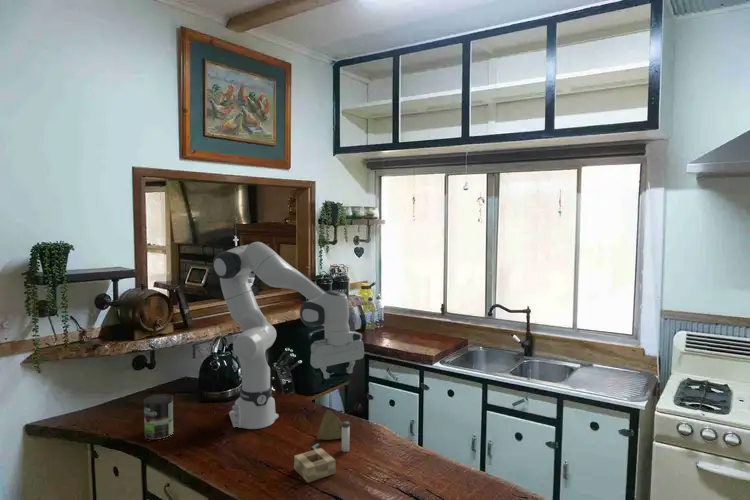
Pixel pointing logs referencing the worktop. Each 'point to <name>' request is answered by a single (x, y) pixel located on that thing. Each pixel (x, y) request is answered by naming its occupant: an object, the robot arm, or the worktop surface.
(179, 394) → the worktop surface
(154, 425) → the coffee can
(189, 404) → the worktop surface
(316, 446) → the hex key
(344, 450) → the long grey cylinder
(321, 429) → the rock
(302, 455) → the wooden block with hole
